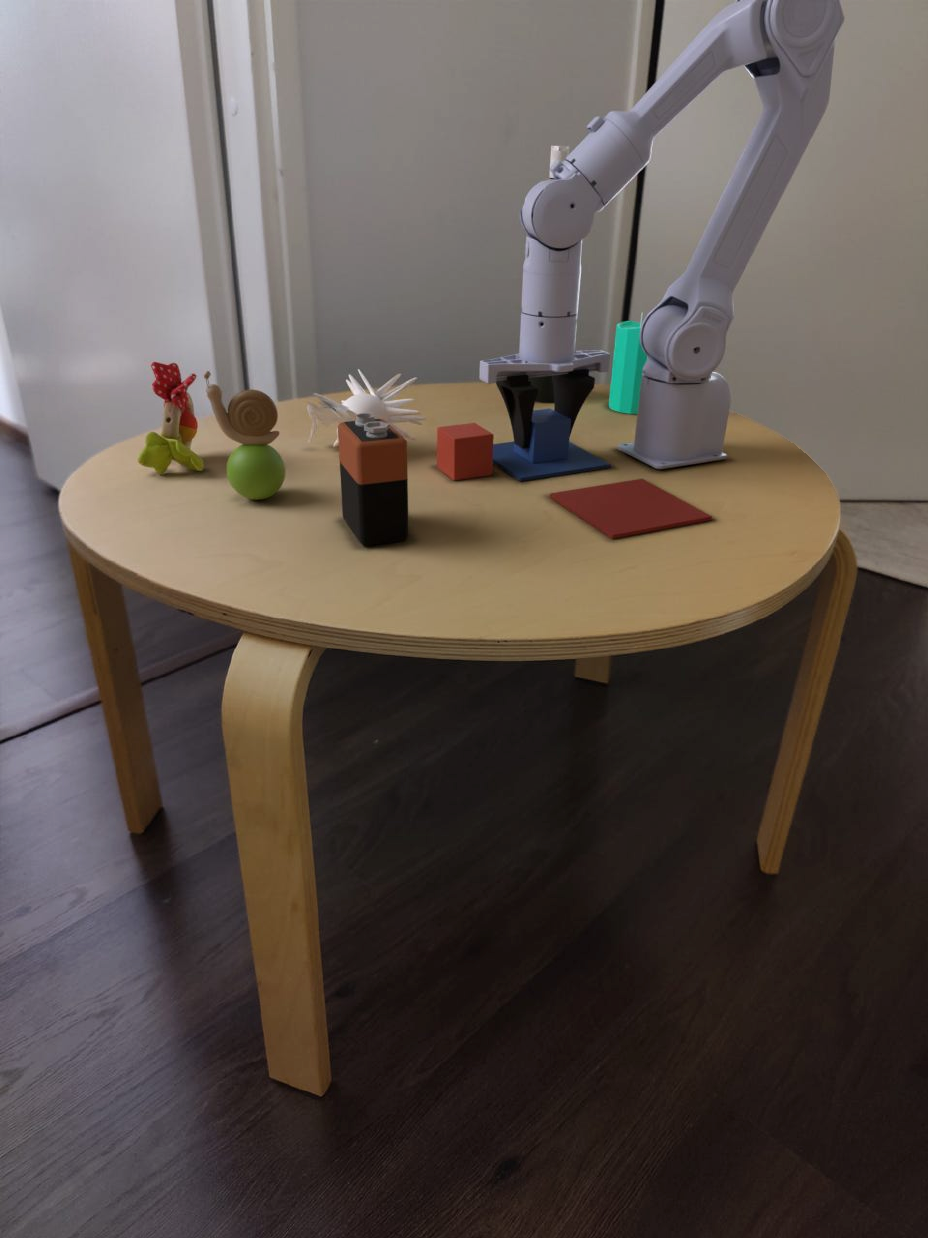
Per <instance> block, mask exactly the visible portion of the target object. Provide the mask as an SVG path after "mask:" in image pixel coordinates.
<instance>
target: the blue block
mask: <svg viewBox="0 0 928 1238" xmlns="http://www.w3.org/2000/svg"><path fill="white" fill-rule="evenodd" d="M570 425H571V419H570V418H568V417H566V416H564V415H562V414H560V413H558V412H556V411H554V409H553V408H543V409H536V410H534V409H533V414H532V421H531V436H530V442H529V447H528V448H525V449H523V448H521V447H519V446H518V445H516V444H515V443H514V452H515V453H517V454H518V455H520V456H522V457H523V458H525V459H527V460H528V461H530V462H531V463H540V462H547V461H554V460H561V459H567V458H568V451H569V442H570V437H571V435H570Z"/></svg>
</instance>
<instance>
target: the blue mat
mask: <svg viewBox="0 0 928 1238" xmlns="http://www.w3.org/2000/svg"><path fill="white" fill-rule="evenodd" d="M492 464H494V465H495V466H497V467H499V469H501V470H502V471H504V472H506V473H508V475H510V476H512V477H513V478H515V479H516V480H517V481H519V482H524V481H531V480H539V479H544V478H546V479H547V478H551V477H557V476H558V477H559V476H564V475H571V474H577V473H584V472H585V473H586V472H591V471H597V470H604V469H609V468H611V463H609V462H607V461H605V460H604V459H602V458H600V457H598V456H596V455H594V454H592V453H591V452H589V451H587V450H585V449H584V448H581V447H580V446H578V445H576V444H574V443H572V442H571V441H569V451H568V458H567V459H561V460H554V461H547V462H540V463H531V462H530V461H528V460H527V459H525V458H523V457H522V456H520V455H518V454H517V453H515V452H514V441H507V442H499V443H493V461H492Z"/></svg>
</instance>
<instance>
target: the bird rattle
mask: <svg viewBox="0 0 928 1238" xmlns="http://www.w3.org/2000/svg"><path fill="white" fill-rule="evenodd" d="M150 368H151V370H152V373H153V375H154V381H153V382H152V383H151V388H152V390H153V392H154V394H155V395H156V396H157V397H159V398H160V399H163V413H162V421H161V432H160V434H158V433H157V432H155V431H149V432H148V433H147V434H146V435H145V441H144V443H145V446H144V448H143V449H142V450H141V452H140V453H139V456H138V458H137V462H138V464H139V465H140V466H142V467H144V468H145V467H146V468H152V469H154V470H155V472H156V473H157V474H158V475H163V474H164V473H166V472H167V471H168V468H169V467H170V465H171V464H172V461H174V462H176V463H177V464H179V465H182V466H184V467H186V468H188V469H191V470H193V471H199V472H200V471H203V470H204V466H205V464H204V459H202V457H201V456H199V454H197V453H195V452H194V451H193V450H192V449H191V446H192V443H193V439H194V438H195V437H196V435H197V433H198V426H199V424H198V423H199V422H198V419H197V418H196V416H195V407H194V401H193V399H192V396H191V394H190V392H188V389H189V387H190V386H191V385H193V383H194V382H195V380H196V379H197V375H196V373H191V374H190V375H188V377H186V379H185V380H183V381H182V373H181V371H180V367H179V365H178V364H177V363H176V362H171V363H169V364H166V363H161V362H158V361H153V362H152V363H151V364H150Z"/></svg>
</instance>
